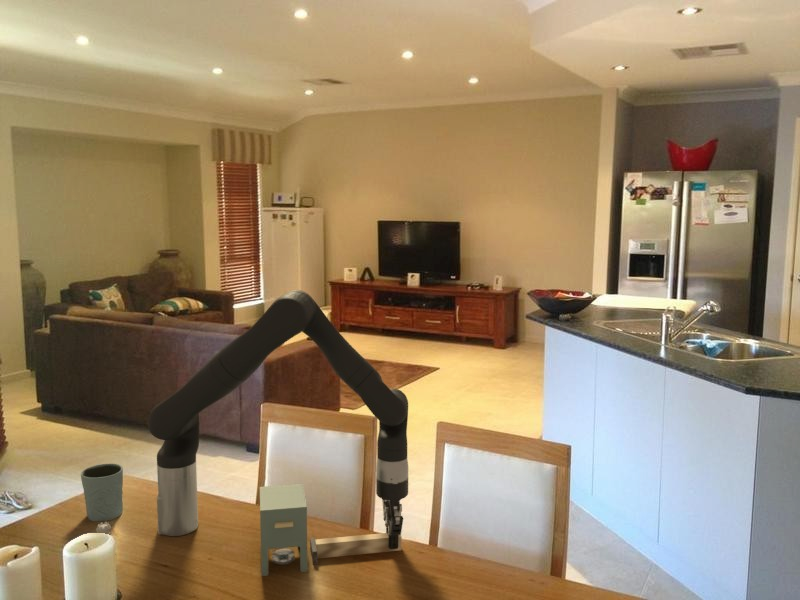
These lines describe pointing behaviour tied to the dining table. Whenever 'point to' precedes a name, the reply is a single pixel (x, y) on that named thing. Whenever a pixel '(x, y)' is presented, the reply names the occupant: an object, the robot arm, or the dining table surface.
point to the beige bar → (350, 545)
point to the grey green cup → (103, 491)
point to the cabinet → (283, 521)
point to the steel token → (283, 556)
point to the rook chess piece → (103, 528)
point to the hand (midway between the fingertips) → (392, 545)
